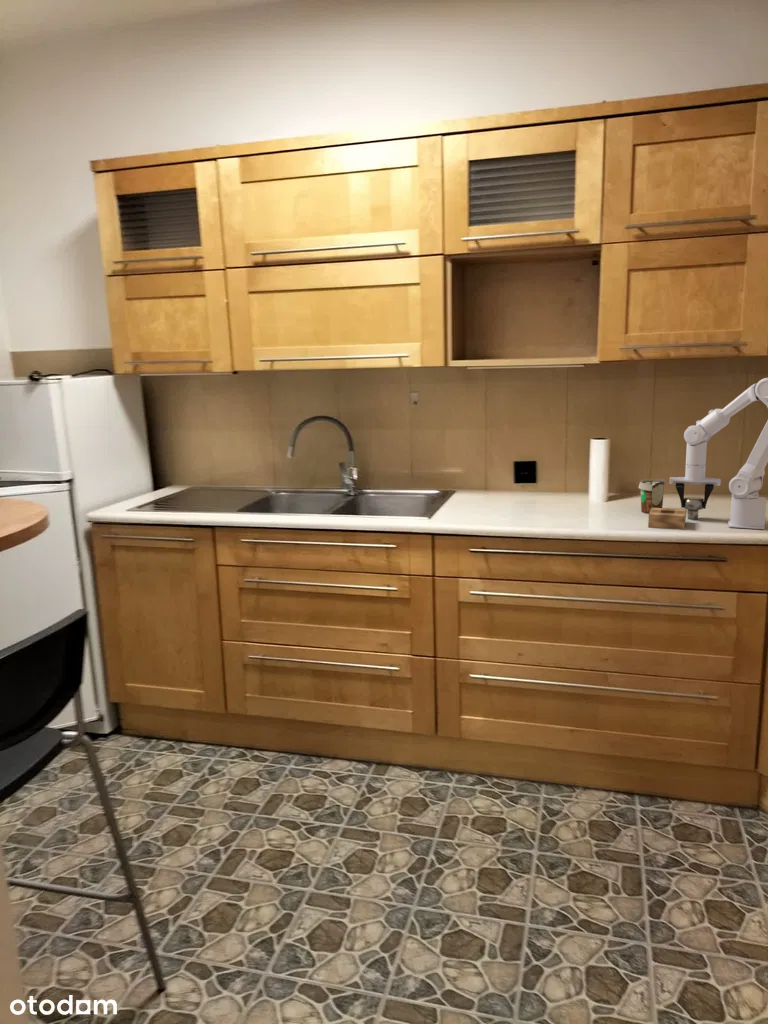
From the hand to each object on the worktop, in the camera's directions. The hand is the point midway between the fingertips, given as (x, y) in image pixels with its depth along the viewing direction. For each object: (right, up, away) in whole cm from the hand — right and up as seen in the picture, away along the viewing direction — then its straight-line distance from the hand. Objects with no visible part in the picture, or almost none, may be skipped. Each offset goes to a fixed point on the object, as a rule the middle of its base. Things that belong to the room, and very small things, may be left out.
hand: (693, 507), depth 230 cm
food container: (-9, -1, +14) cm, 17 cm away
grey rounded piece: (0, -4, +1) cm, 4 cm away
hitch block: (-10, -5, -5) cm, 13 cm away
